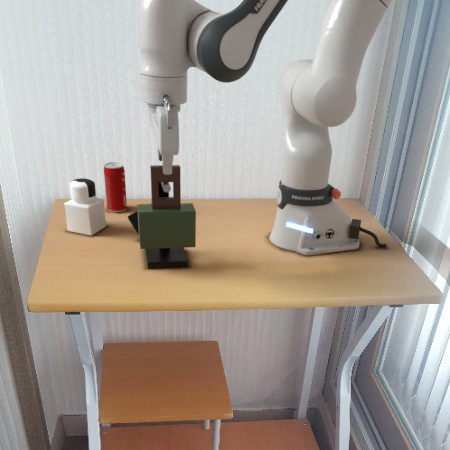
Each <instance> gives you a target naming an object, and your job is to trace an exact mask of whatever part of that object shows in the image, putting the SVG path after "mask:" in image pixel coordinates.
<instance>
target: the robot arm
mask: <svg viewBox="0 0 450 450" xmlns="http://www.w3.org/2000/svg"><path fill="white" fill-rule="evenodd" d="M288 1H289V0H240V1H239V2H238V4H237V5H236V6H235V7H234V8H232V9H231V10H229V11H227V12H224V13H220V12H217V11H214V10H211V9H210V8H208V7H206V6H204V5H202V4H201V3H200V2H197V1H196V0H140V1H139V2H140V3H139V9H138V31H137V32H138V48H139V51H140V56H141V57H140V58H141V59H140V67H139V83H140V84H139V91H140V101H141V102H142V103H145V104H147V111H148V114H149V121H150V122H149V123H150V128H151V132H152V134H153V138H154V140H155V143H156V147H157V159H158V161H160V162H162V163H161V165H162V171H163V174H165V175H170V174H172V165H173V164H174V163H173V162H174V156H178V155H179V152H180V121H179V120H180V119H179V113H180V112H181V105H185V104H186V103H187V102H188V70H189V69H190V68H196V69H198V70H199V71H202V72H204V73H206V74H207V75H208V76H209V77H211V78H212V79H214V80H215V81H218V82H220V83H225V84H226V83H227V84H228V83H234V82H236V81H238V80H240V79H242V78H243V77H244V76H245V75H247V73H248V72H249V71H250V69H251V68H252V67H253V64H254V62H255V59H256V57H257V53H258V51H259V48H260V45H261V43H262V40H263V39H264V36H265V35H266V34H267V32H268V30H269V29H270V27H271V26H272V24H273V23H274V21H275V20H276V19H277V17H278V16H279V14H280V13H281V12H282V10H283V8H284V7H285V5H286V4H287V2H288ZM391 2H392V0H330V1H329V3H328V5H327V7H326V9H325V12H324V13H323V16H322V17H321V20H320V23H319V38H318V43H317V47H316V50H315V54H314V57H313V59H300V60H296V61H293V62H290V63H289V64H287V65H286V67H285V68H284V69H283V70H282V72H281V73H280V75H279V79H278V82H277V90H278V95H279V98H280V103H281V119H282V130H283V131H282V132H283V133H282V134H283V156H282V168H281V179H280V180H279V182H278V189H277V195H276V205H277V209H276V214H275V218H274V222H273V226H272V229H271V230H270V231H271V232H270V234H269V237H268V239H269V241H270V242H271V244H273V245H275V246H276V247H278V248H281V249H284V250H288V251H292V252H296V253H299V254H301V255H304V256H313V255H321V254H322V255H323V254H329V253H337V252H345V251H354V250H358V249H359V248H360V242H361V241H360V239H359V236H360V232H362V233H364V234H367V235H368V236H370V237H372V238H373V241H374V242H375V245H376V246H377V247H379V248H387V247H388V246H387V245H388V244H387V243H381V242H380V241H379V237H378V236H377V235H376V234H375V233H374V232H373V231H371V230H369V229H367V228H364V227H361V225H362V219H357V218H352V219H351V217H350V216H349V214H348V213H347V212H346V211H345V210H344V209H343V208H342V207H341V206H340V205H339V204H338V203H337V202H336V201H334V200H338V199H340V198H341V196H342V191H340V190H339V188H335V187H334V186H333V185H332V184H330V183H329V177H330V170H331V164H332V156H333V149H332V148H333V146H332V143H331V141H330V133H329V132H330V131H329V128H335V127H338V126H341V125H343V124H344V123H346V122H347V121H348V120H349V119H350V117H351V116H352V115H353V113H354V111H355V109H356V105H357V95H358V94H357V83H358V79H359V75H360V72H361V69H362V65H363V63H364V59H365V56H366V53H367V50H368V47H369V46H370V43H371V41H372V40H373V37H374V36H375V34H376V32H377V29H378V27H379V25H380V24H381V22H382V19H383V18H384V16H385V14H386V12H387V10H388V8H389V6H390V4H391Z"/></svg>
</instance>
